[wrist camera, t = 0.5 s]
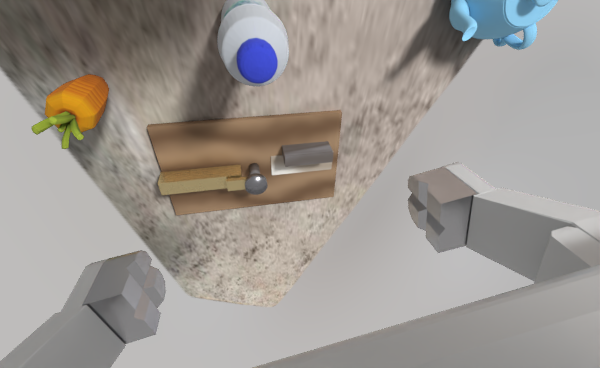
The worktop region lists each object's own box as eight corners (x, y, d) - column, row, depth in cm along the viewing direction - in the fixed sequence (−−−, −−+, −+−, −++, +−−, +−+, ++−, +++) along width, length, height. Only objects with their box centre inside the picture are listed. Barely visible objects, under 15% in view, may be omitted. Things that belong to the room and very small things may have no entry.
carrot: (129, 80, 42) (93, 134, 30) (108, 104, 43) (65, 164, 32) (93, 52, 39) (37, 99, 27) (71, 78, 40) (9, 134, 29)
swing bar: (263, 159, 52) (266, 176, 48) (265, 176, 54) (268, 193, 50) (159, 169, 49) (154, 187, 46) (165, 186, 52) (160, 205, 48)
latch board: (148, 124, 46) (141, 141, 42) (340, 110, 51) (349, 124, 47) (177, 211, 57) (173, 231, 53) (332, 193, 62) (339, 210, 58)
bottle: (251, 55, 43) (264, 120, 27) (209, 19, 39) (198, 71, 24) (282, 15, 40) (317, 61, 25) (240, -27, 37) (251, -3, 21)
